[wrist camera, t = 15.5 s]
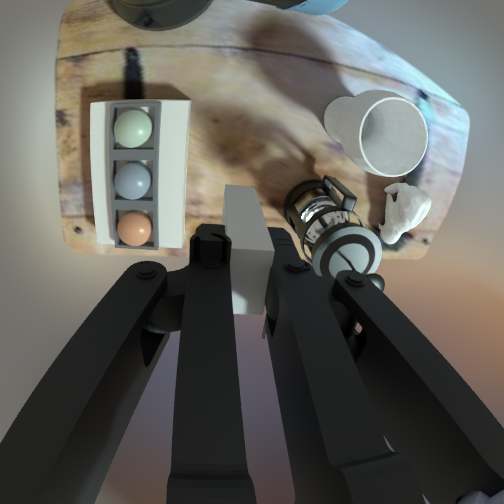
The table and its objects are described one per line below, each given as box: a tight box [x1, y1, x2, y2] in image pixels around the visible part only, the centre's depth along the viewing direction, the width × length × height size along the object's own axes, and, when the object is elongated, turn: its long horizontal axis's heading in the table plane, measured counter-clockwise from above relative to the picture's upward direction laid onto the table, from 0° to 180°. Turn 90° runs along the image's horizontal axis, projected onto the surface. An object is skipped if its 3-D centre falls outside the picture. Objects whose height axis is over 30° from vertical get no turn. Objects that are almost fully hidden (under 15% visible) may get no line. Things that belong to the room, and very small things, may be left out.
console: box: [90, 99, 192, 250], centre depth 41 cm, size 22×14×6 cm, turn 173°
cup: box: [324, 90, 428, 177], centre depth 36 cm, size 11×11×15 cm
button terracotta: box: [117, 210, 152, 246], centre depth 43 cm, size 5×5×2 cm
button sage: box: [114, 109, 153, 148], centre depth 35 cm, size 5×5×2 cm
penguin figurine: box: [379, 183, 431, 244], centre depth 47 cm, size 6×8×12 cm
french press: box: [284, 175, 385, 292], centre depth 39 cm, size 12×9×23 cm
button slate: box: [114, 161, 152, 200], centre depth 39 cm, size 5×5×2 cm
